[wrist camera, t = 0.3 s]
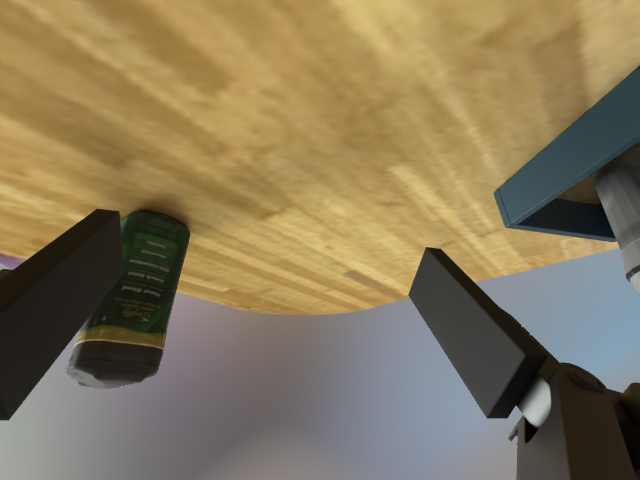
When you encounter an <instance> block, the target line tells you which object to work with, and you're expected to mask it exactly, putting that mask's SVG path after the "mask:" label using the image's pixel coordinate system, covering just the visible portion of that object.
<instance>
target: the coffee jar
mask: <svg viewBox="0 0 640 480" xmlns="http://www.w3.org/2000/svg"><path fill="white" fill-rule="evenodd" d="M120 226H121V238H122V250H123V262H124V273H123V274H122V275H121V277H120V278H119V279H118V281H117V282H116V283H115V284H114V286H113V287H112V288H111V289H110V291H109V292H108V293H107V295H106V296H105V297H104V298H103V300H102V301H101V302H100V304H99V305H98V306H97V307H96V309H95V310H94V311H93V313H92V314H91V315H90V316H89V318H88V319H87V320H86V322H85V323H84V324H83V325H82V327H81V328H80V330H79V333H78V336H77V338H76V342H75V344H74V348H73V350H72V354H71V357H70V359H69V363H68V366H67V368H66V373H67V374H68V375H69V376H71V377H72V378H73V379H75V380H76V381H77V382H78V384H79V385H82V386H88V387H94V388H106V389H110V388H117V387H121V386H124V385H129V384H134V383H139V382H141V381H143V380H144V379H145V378H148V377H151V376H153V375H155V374H156V373H157V371H158V369H159V365H160V361H161V358H162V355H163V350H164V345H165V339H166V333H167V328H168V323H169V318H170V314H171V309H172V306H173V302H174V297H175V294H176V290H177V285H178V281H179V277H180V273H181V270H182V266H183V262H184V258H185V255H186V251H187V247H188V243H189V239H190V232H189V230H188V229H187V228H186V227H185V226H183V225H181V224H180V223H178V222H177V221H175V220H174V219H172V218H169V217H167V216H164V215H161V214H153V213H147V212H139V211H137V212H133V213H131V214H129V215H128V216H127V217H125V218H124V219H123V220H122V221H121V223H120Z"/></svg>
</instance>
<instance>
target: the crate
mask: <svg viewBox="0 0 640 480" xmlns="http://www.w3.org/2000/svg"><path fill="white" fill-rule="evenodd" d="M639 141H640V67H639V68H637V69H636V70H635V71H634V72H633V73H632V74H630V75H629V76H628V77H627V78H626V79H625V80H624V81H622V82H621V83H620V84H619V85H618V86H617V87H615V88H614V89H613V90H612V91H611V92H610V93H609V94H607V95H606V96H605V97H604V98H603V99H602V100H600V101H599V102H598V103H597V104H596V105H595V106H593V107H592V108H591V109H590V110H589V111H588V112H587V113H585V114H584V115H583V116H582V117H581V118H580V119H578V120H577V121H576V122H575V123H574V124H573V125H572V126H570V127H569V128H568V129H567V130H566V131H565V132H563V133H562V134H561V135H560V136H559V137H558V138H557V139H555V140H554V141H553V142H552V143H551V144H550V145H548V146H547V147H546V148H545V149H544V150H543V151H541V152H540V153H539V154H538V155H537V156H536V157H535V158H533V159H532V160H531V161H530V162H529V163H528V164H526V165H525V166H524V167H523V168H522V169H521V170H520V171H518V172H517V173H516V174H515V175H514V176H513V177H511V178H510V179H509V180H508V181H507V182H506V183H505V184H503V185H502V186H501V187H500V188H499V189H498V190H497V191H495V192H494V197H495V200H496V202H497V205H498V208H499V211H500V214H501V217H502V219H503V222H504V225H505V227H506V228H512V229H520V230H527V231H534V232H542V233H549V234H557V235H564V236H571V237H579V238H586V239H594V240H601V241H608V242H616V241H617V240H616V237H615V235H614V232H613V230H612V228H611V225H610V223H609V220H608V218H607V215H606V213H605V210H604V208H603V206H602V203H601V204H600V205H598V206H597V205H591V204H585V203H579V202H573V201H567V200H561V199H555V198H557V197H558V196H560V195H561V194H563V193H564V192H566V191H567V190H568V189H570V188H571V187H573V186H574V185H576V184H577V183H579V182H580V181H582V180H583V179H585V178H586V177H588V176H589V175H590V174H592V173H593V172H595V171H596V170H598V169H599V168H601V167H602V166H604V165H605V164H607V163H608V162H609V161H611V160H612V159H614V158H615V157H617V156H618V155H620V154H621V153H623V152H624V151H626V150H627V149H628V148H630V147H631V146H633V145H634V144H636V143H637V142H639Z"/></svg>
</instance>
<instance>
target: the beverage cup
mask: <svg viewBox="0 0 640 480" xmlns="http://www.w3.org/2000/svg"><path fill="white" fill-rule="evenodd" d="M591 178H592V181H593V184H594V186H595V189H596V191H597V193H598V196H599V198H600V201H601V203H602V206H603V208H604V210H605V213H606V215H607V218H608V220H609V223H610V225H611V228H612V230H613V232H614V235H615V237H616V240H617V242H618V245H619V247H620V249H621V257H622V260H623V264H624V268H625V270H626V273H627V274H626V278H627V280H628V281H629V282H631V283H632V284H633V286H634V287H635V289H636V290H637V291H638V292H639V293H640V141H639V142H637V143H636V144H634V145H633V146H631V147H630V148H628V149H627V150H626V151H624V152H623V153H621V154H620V155H618V156H617V157H615V158H614V159H612V160H611V161H609V162H608V163H607V164H605V165H604V166H602V167H601V168H599V169H598V170H596V171H595V172H593V173H592V174H591Z"/></svg>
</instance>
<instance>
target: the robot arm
mask: <svg viewBox="0 0 640 480" xmlns="http://www.w3.org/2000/svg"><path fill="white" fill-rule="evenodd" d="M123 273H124V262H123V250H122V238H121V226H120V214H119V211H111V210H103V209H96V210H95V211H94V212H92V213H91V214H89V215H88V216H87V217H85V218H84V219H83V220H81V221H80V222H78V223H77V224H76V225H74V226H73V227H72V228H70V229H69V230H67V231H66V232H65V233H63V234H62V235H61V236H59V237H58V238H56V239H55V240H54V241H52V242H51V243H50V244H48V245H47V246H45V247H44V248H43V249H41V250H40V251H39V252H37V253H36V254H34V255H33V256H32V257H30V258H29V259H28V260H26V261H25V262H23V263H22V264H21V265H19V266H18V267H17V268H15V269H14V270H10V269H2V270H0V420H9V419H10V418H11V417H12V415H13V414H14V413H15V412H16V410H17V409H18V408H19V406H20V405H21V404H22V403H23V401H24V400H25V399H26V397H27V396H28V395H29V394H30V392H31V391H32V390H33V388H34V387H35V386H36V385H37V383H38V382H39V381H40V379H41V378H42V377H43V376H44V374H45V373H46V372H47V370H48V369H49V368H50V367H51V365H52V364H53V363H54V361H55V360H56V359H57V358H58V356H59V355H60V354H61V352H62V351H63V350H64V349H65V347H66V346H67V345H68V343H69V342H70V341H71V340H72V338H73V337H74V336H75V334H76V333H77V332H78V331H79V329H80V328H81V327H82V325H83V324H84V323H85V322H86V320H87V319H88V318H89V316H90V315H91V314H92V313H93V311H94V310H95V309H96V307H97V306H98V305H99V304H100V302H101V301H102V300H103V298H104V297H105V296H106V295H107V293H108V292H109V291H110V289H111V288H112V287H113V286H114V284H115V283H116V282H117V281H118V279H119V278H120V277H121V275H122V274H123ZM409 297H410V298H411V300H412V302H413V303H414V305H415V306H416V308H417V309H418V311H419V312H420V314H421V316H422V317H423V319H424V320H425V322H426V324H427V325H428V327H429V328H430V330H431V331H432V333H433V335H434V336H435V338H436V339H437V341H438V342H439V344H440V345H441V347H442V349H443V350H444V352H445V353H446V355H447V356H448V358H449V359H450V361H451V363H452V364H453V366H454V367H455V369H456V370H457V372H458V374H459V375H460V377H461V378H462V380H463V382H464V383H465V385H466V386H467V388H468V389H469V391H470V392H471V394H472V396H473V397H474V399H475V400H476V402H477V404H478V405H479V407H480V408H481V410H482V411H483V413H484V414H485V416H486V418H508V416H509V414H510V413H511V412H512V410H513V409H514V407H515V406H517V407H518V408H519V410H520V411H521V412H522V413H523V416H522V417H521V419H520V420H519V421H518V423H517V425H516V426H515V427H514V429H513V430H512V432H511V433H510V435H509V437H508V439H509V440H511V441H512V440H513V438H514V437H515V436H518V443H517V445H518V448H517V480H640V383H631V384H630V385H629V387H628V388H627V389H626V390H625V391H624V393H620V392H617V391H613V390H610V389H607V388H606V387H605V385H604V384H603V383H602V382H601V381H600V380H599V379H597V378H596V377H595V376H594V375H592V374H591V373H589V372H588V371H586V370H584V369H582V368H580V367H578V366H576V365H573V364H570V363H559V362H558V361H557V360H556V359H555V358H554V357H553V356H552V355H551V354H550V353H549V352H548V351H547V350H546V349H545V348H544V347H543V346H542V345H541V344H540V343H539V342H538V341H537V340H536V339H535V338H534V337H533V336H532V335H530V334H529V332H528V331H527V330H526V329H524V327H521V324H520V323H519V322H517V320H516V319H514V318H513V317H512V316H511V315H510V314H508V313H507V312H505V311H504V310H502V309H501V308H500V307H499V306H498V305H497V304H495V303H494V302H493V301H492V299H490V297H489V296H488V295H487V294H485V293H484V291H482V289H480V288H479V287H478V286H477V285H476V284H475V283H474V282H473V281H472V280H471V279H470V278H469V277H468V276H467V275H466V274H465V273H464V272H463V271H462V270H461V269H460V268H459V267H458V266H457V265H456V264H455V263H454V262H453V261H452V260H451V259H450V258H449V257H448V256H447V255H446V254H445V253H444V252H443V251H442V250H441V249H437V248H429V247H426V249H425V252H424V254H423V257H422V260H421V262H420V265H419V268H418V270H417V273H416V276H415V278H414V281H413V284H412V287H411V289H410V292H409Z"/></svg>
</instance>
